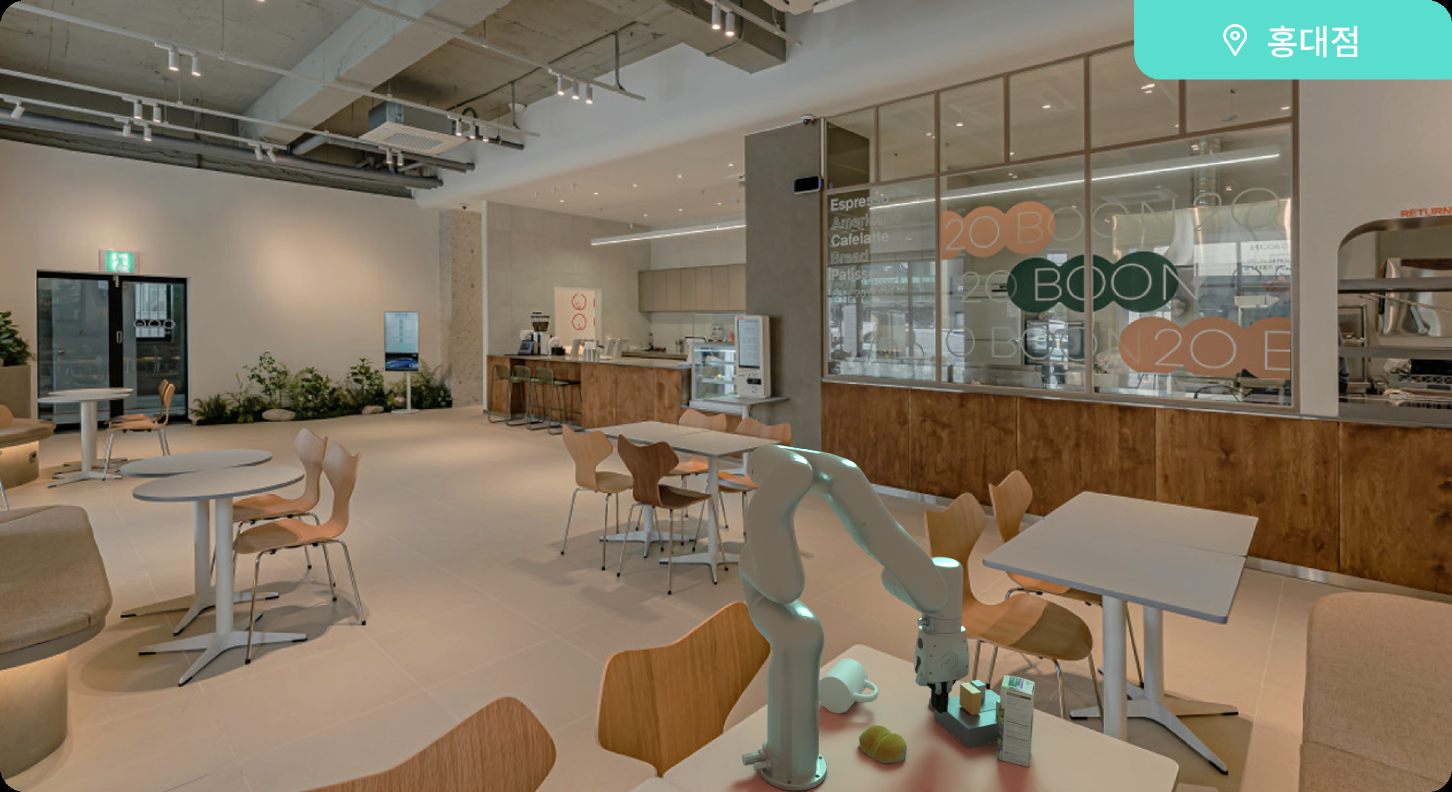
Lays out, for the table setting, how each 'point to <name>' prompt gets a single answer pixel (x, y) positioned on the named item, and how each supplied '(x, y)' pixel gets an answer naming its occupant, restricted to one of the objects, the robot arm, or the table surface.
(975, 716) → the switch box
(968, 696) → the block
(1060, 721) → the table surface
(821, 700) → the mug
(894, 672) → the table surface
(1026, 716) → the syrup box
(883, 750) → the bread roll
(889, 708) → the table surface
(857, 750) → the table surface
